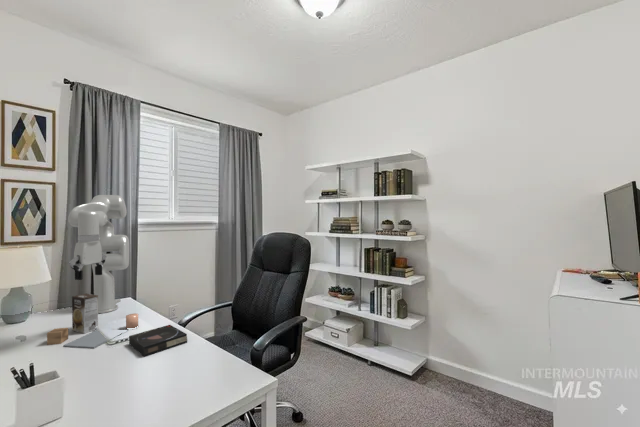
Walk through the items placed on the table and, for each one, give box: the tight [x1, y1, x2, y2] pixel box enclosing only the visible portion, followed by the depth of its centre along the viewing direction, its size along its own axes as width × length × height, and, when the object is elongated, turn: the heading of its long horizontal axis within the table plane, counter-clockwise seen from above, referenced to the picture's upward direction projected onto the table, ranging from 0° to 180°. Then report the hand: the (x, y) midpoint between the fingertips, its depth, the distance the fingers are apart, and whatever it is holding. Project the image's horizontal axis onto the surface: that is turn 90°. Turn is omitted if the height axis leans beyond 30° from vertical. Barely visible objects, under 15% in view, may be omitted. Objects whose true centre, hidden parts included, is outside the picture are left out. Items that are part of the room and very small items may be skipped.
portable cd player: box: [128, 324, 188, 357], centre depth 126 cm, size 16×17×4 cm
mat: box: [63, 329, 107, 349], centre depth 131 cm, size 18×14×1 cm
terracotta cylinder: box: [125, 313, 139, 329], centre depth 143 cm, size 5×5×6 cm
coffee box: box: [71, 293, 99, 334], centre depth 141 cm, size 9×6×16 cm
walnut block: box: [46, 327, 69, 346], centre depth 128 cm, size 5×5×5 cm
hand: (89, 277), depth 134 cm, fingers open, 9 cm apart
